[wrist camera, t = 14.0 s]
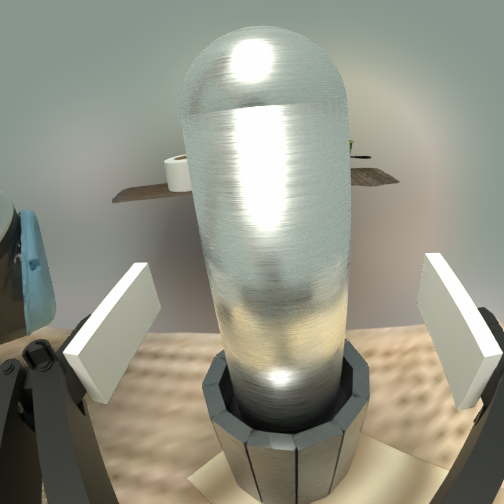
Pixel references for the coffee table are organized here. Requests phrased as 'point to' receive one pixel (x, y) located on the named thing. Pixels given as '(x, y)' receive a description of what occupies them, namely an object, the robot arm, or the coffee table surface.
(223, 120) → the polished capsule rod
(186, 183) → the toilet paper roll
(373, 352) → the coffee table surface
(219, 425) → the grey wooden bucket
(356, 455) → the birch board
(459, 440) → the coffee table surface
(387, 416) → the coffee table surface
